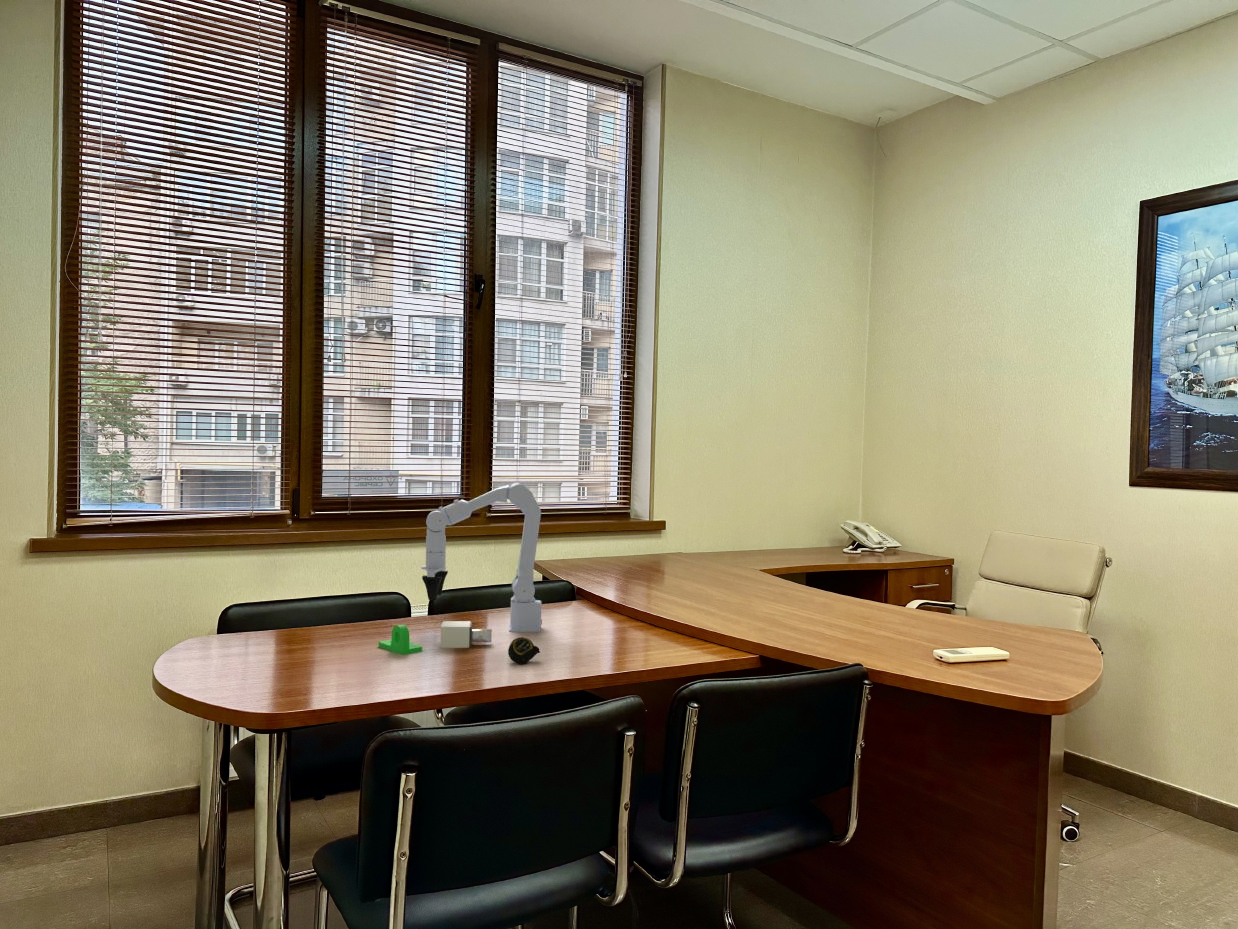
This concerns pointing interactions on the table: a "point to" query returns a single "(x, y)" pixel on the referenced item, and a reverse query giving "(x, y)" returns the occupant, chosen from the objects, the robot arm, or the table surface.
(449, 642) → the white block
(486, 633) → the steel pin
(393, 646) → the mechanical part
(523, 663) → the tape measure
